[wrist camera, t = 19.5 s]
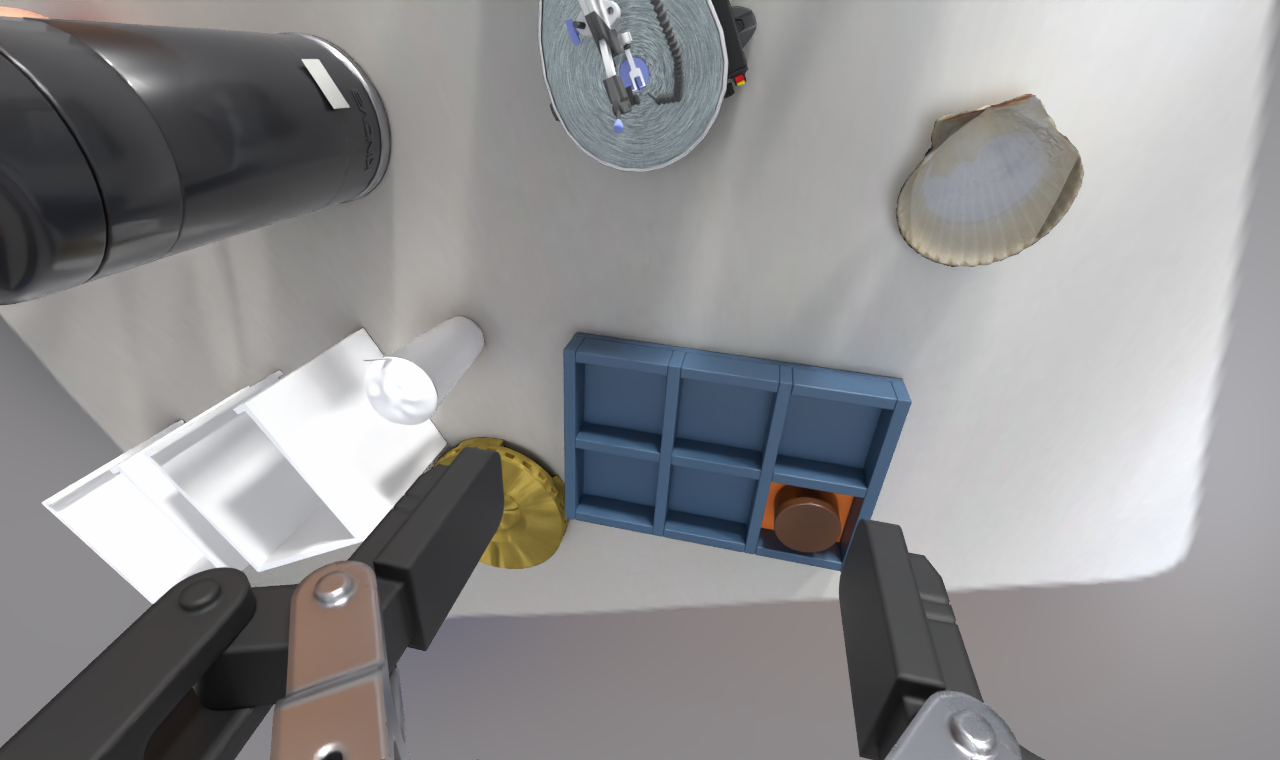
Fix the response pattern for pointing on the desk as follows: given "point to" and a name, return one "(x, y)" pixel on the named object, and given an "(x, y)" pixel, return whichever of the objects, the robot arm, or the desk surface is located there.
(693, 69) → the scroll saw
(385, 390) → the milkshake
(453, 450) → the gold notched disc
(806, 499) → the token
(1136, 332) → the desk surface
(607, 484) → the grid
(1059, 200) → the seashell
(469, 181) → the desk surface
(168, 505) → the white open box
